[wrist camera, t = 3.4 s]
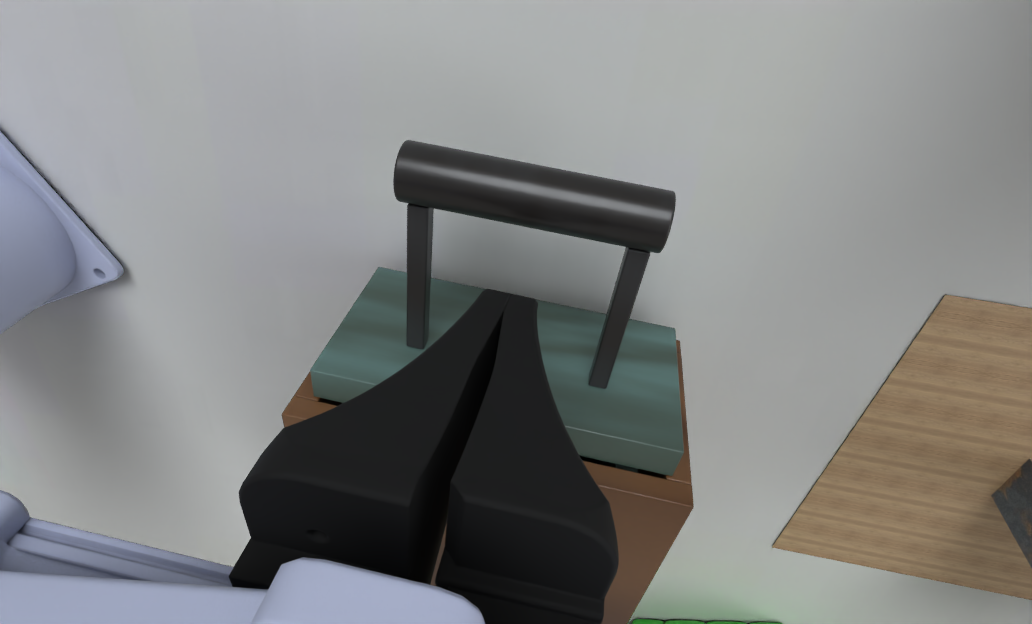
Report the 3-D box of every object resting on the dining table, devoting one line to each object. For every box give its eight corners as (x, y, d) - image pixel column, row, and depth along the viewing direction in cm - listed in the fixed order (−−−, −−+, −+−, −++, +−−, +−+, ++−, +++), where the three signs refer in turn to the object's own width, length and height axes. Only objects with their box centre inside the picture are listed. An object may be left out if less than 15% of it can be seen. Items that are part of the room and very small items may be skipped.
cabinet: (372, 275, 23) (280, 414, 17) (680, 339, 23) (694, 507, 17) (380, 474, 32) (320, 612, 26) (604, 525, 31) (595, 680, 25)
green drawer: (372, 84, 18) (279, 158, 13) (744, 154, 17) (782, 258, 12) (384, 464, 30) (338, 571, 25) (601, 514, 29) (594, 633, 24)
